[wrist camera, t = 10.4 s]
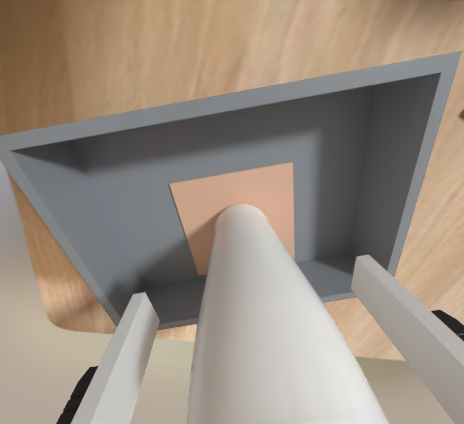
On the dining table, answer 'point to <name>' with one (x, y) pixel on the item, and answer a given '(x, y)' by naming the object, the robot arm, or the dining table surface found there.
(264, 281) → the drinking glass
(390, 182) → the walled box
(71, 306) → the dining table surface
